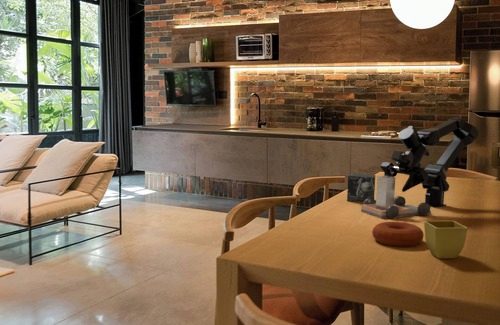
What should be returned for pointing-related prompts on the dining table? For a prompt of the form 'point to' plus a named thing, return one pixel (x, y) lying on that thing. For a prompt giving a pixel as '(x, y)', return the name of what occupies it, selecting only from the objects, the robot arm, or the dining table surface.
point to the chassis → (395, 209)
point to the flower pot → (445, 238)
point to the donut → (397, 234)
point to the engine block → (385, 192)
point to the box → (360, 187)
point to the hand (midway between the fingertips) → (392, 189)
